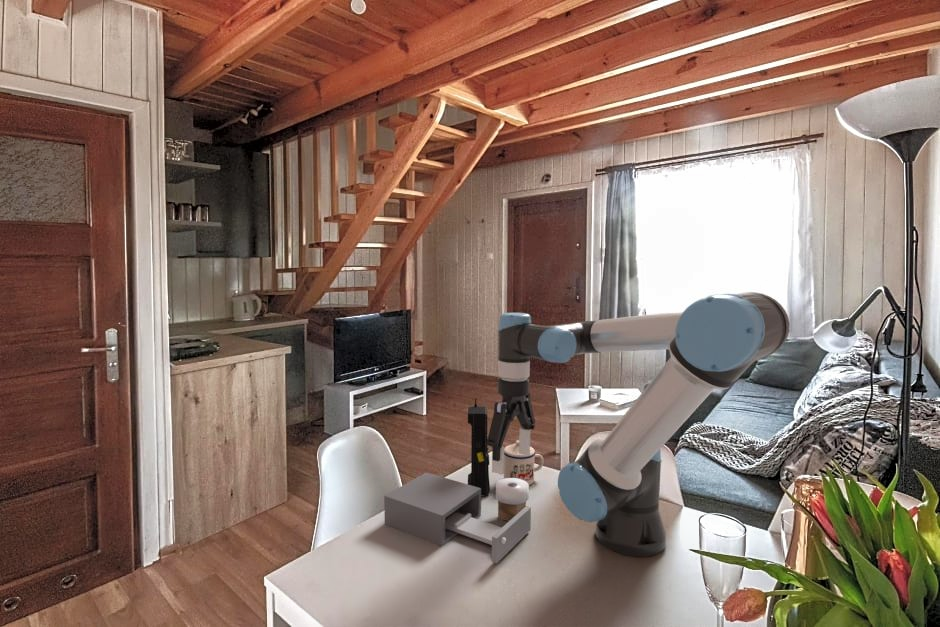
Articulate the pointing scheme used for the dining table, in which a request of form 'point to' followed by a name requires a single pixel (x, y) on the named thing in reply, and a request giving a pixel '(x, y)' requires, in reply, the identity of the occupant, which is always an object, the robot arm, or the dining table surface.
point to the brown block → (509, 510)
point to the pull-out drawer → (492, 531)
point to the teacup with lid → (520, 463)
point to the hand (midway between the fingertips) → (511, 463)
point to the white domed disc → (512, 491)
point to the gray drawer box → (430, 506)
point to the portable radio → (479, 449)
